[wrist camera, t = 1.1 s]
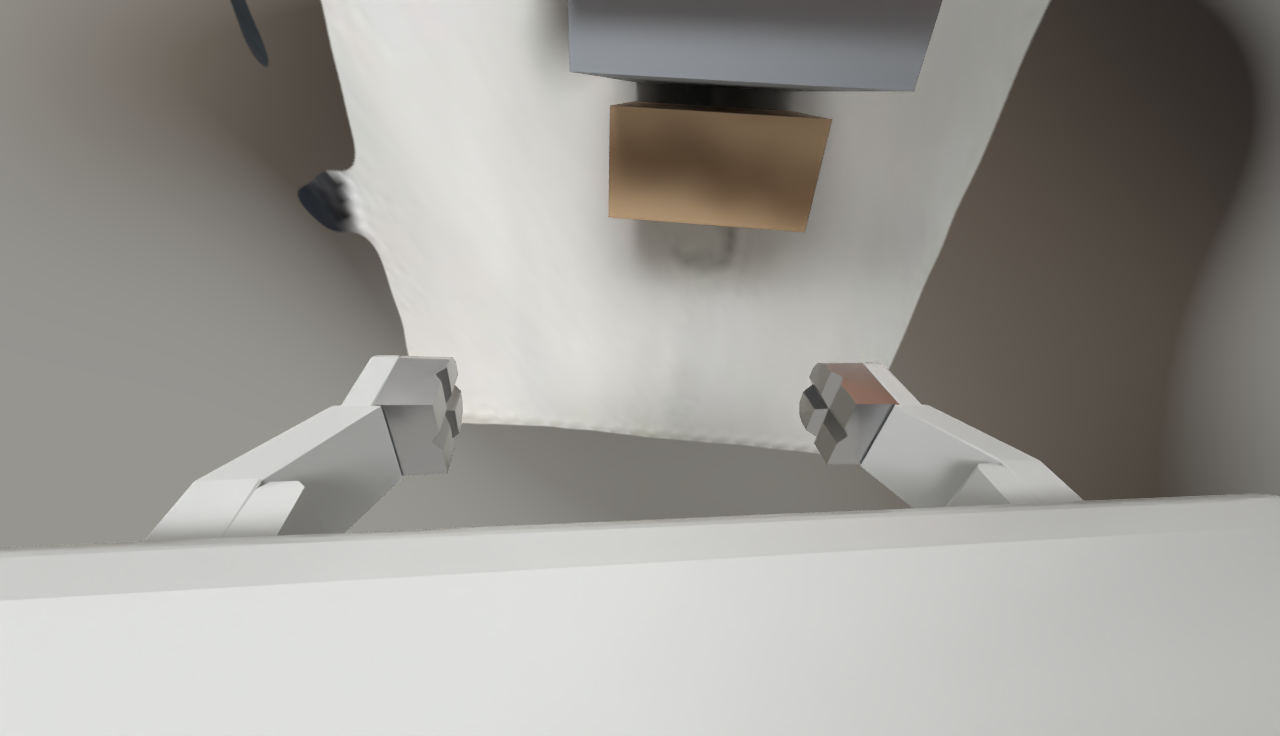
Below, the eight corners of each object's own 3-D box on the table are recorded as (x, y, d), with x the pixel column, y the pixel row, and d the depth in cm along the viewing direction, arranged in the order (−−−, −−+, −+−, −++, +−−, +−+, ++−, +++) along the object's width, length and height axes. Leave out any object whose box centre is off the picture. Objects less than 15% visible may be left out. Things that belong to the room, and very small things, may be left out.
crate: (635, 101, 42) (610, 105, 29) (788, 110, 41) (831, 119, 28) (632, 182, 45) (608, 217, 33) (773, 191, 45) (804, 232, 32)
